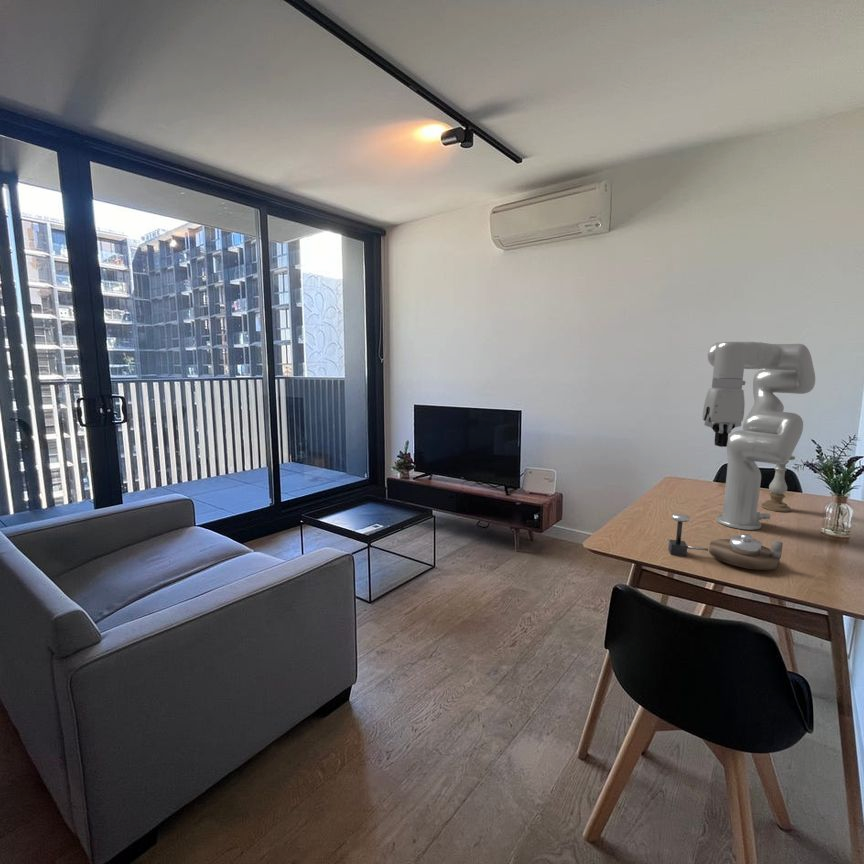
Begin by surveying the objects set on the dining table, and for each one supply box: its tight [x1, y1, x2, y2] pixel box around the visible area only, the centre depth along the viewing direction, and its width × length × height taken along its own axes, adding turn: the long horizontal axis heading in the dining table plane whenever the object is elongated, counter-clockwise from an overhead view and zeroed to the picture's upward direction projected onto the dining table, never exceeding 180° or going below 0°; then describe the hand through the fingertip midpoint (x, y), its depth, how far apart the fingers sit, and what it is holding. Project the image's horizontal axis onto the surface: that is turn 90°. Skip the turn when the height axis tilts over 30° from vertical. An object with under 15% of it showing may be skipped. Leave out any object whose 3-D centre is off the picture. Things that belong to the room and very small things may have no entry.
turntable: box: [708, 538, 784, 571], centre depth 127 cm, size 16×16×6 cm
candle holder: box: [761, 455, 796, 513], centre depth 171 cm, size 9×9×20 cm
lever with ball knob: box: [667, 512, 709, 558], centre depth 130 cm, size 10×4×11 cm, turn 72°
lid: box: [729, 533, 762, 557], centre depth 126 cm, size 7×7×4 cm
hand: (720, 445), depth 139 cm, fingers closed
